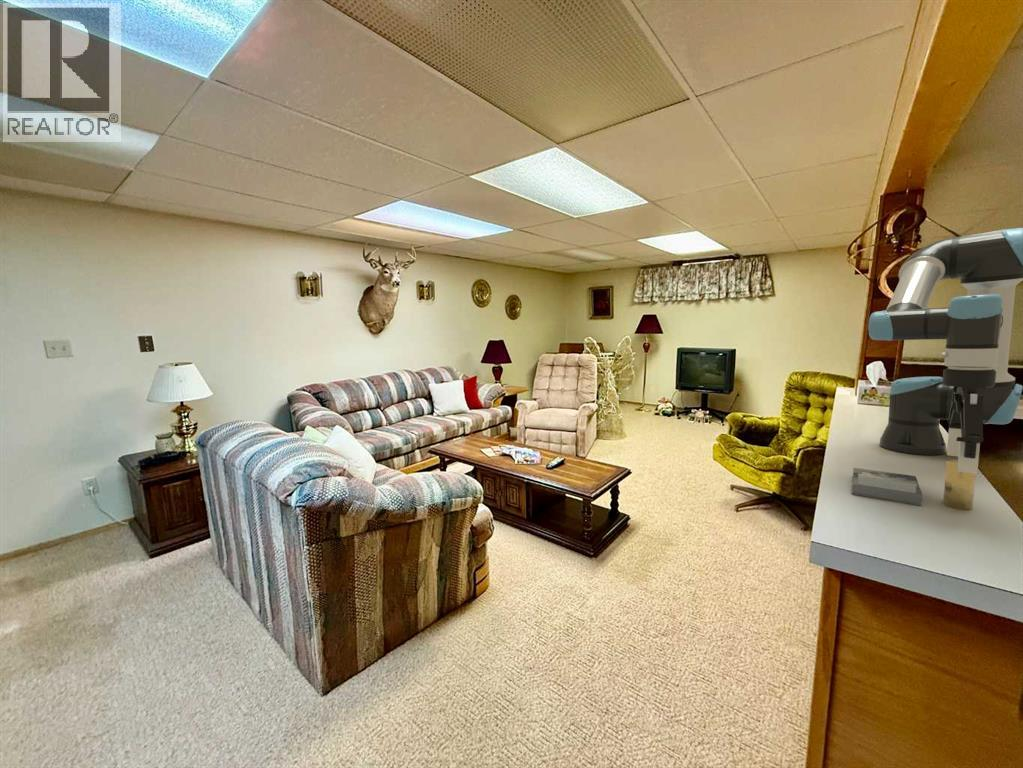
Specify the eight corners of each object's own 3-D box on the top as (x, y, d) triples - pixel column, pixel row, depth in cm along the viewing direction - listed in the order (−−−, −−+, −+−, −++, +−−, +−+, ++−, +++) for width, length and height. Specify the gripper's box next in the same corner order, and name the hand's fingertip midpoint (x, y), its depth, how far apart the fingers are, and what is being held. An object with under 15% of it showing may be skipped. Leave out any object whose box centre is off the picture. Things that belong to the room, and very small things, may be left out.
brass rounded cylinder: (960, 501, 92) (964, 459, 90) (978, 510, 87) (982, 466, 86) (937, 501, 92) (940, 459, 91) (954, 509, 88) (958, 466, 87)
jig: (852, 476, 109) (853, 459, 109) (915, 485, 101) (916, 467, 101) (852, 494, 99) (853, 475, 98) (921, 505, 91) (922, 485, 90)
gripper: (935, 363, 98) (929, 447, 100) (953, 373, 79) (945, 476, 82) (982, 363, 93) (974, 452, 95) (1013, 373, 74) (1002, 483, 77)
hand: (960, 463), depth 88 cm, fingers open, 13 cm apart
